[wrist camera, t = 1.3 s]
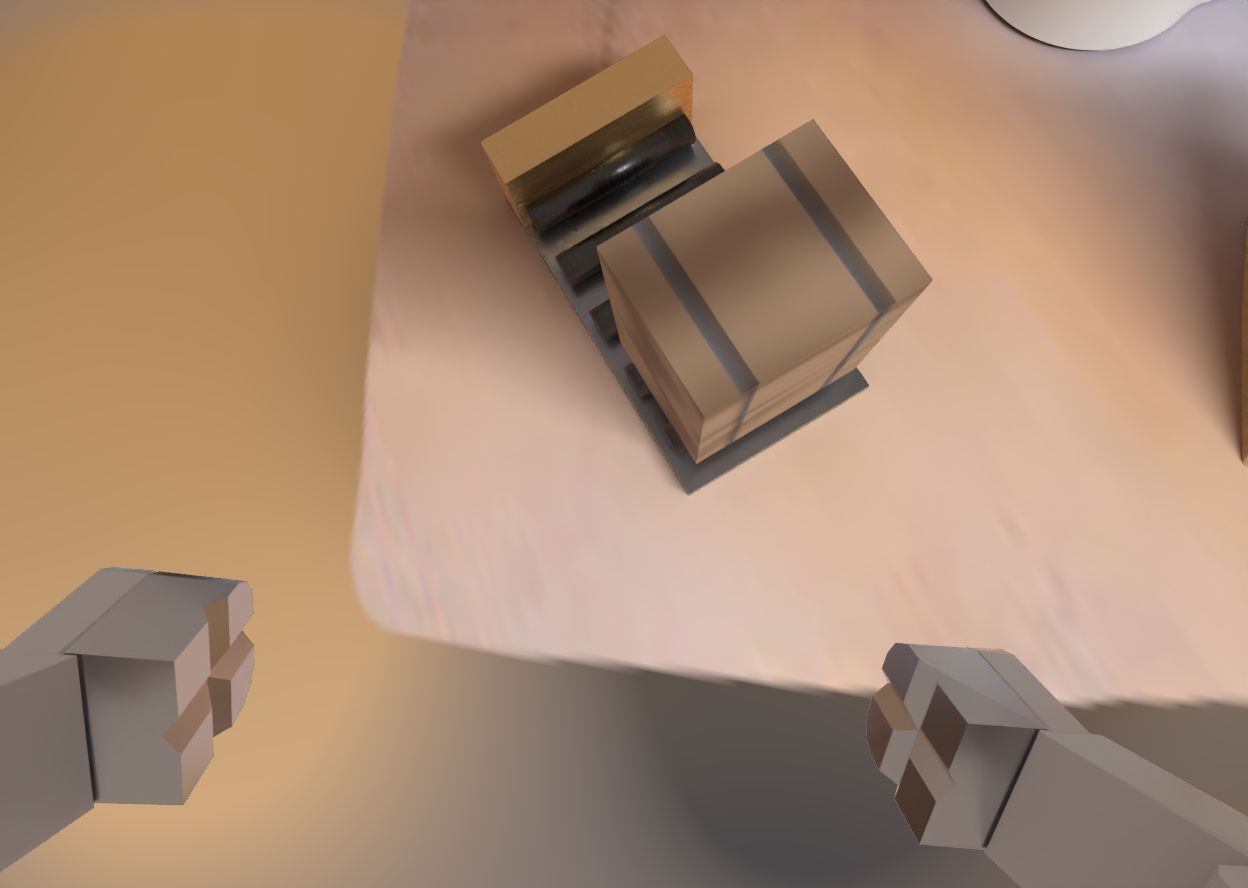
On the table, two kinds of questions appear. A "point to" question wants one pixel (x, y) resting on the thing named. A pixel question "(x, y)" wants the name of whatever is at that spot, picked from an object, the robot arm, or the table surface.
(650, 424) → the roller track
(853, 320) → the crate
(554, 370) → the table surface
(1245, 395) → the sandwich container
